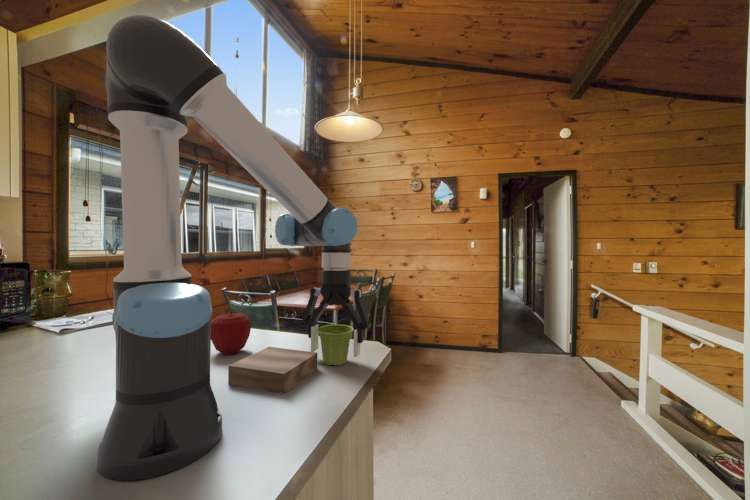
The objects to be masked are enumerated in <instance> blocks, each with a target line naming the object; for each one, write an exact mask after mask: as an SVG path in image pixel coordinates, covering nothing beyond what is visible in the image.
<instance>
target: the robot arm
mask: <svg viewBox="0 0 750 500" xmlns="http://www.w3.org/2000/svg"><path fill="white" fill-rule="evenodd" d="M105 47H106V69H105V73H104V74H105V75H104V85H105V89H106V90H105V91H106V95H107V97H106V98H107V99H106V100H107V119H108V121H109V122H110V124H112V125H113V126H114V127H115V128H117V130H119V140H120V141H119V143H120V144H119V145H120V148H119V149H120V173H121V174H120V175H121V177H120V178H121V179H120V180H121V183H120V184H121V204H122V205H121V207H122V208H121V211H122V241H123V243H122V245H123V246H122V247H123V269H122V271H121V272H120V273H118V274H117V275H116V276H115V277H114V278H113V280H112V288H113V289H112V290H113V313H112V316H111V317H112V327H113V330H114V334H115V349H116V350H115V402H114V403H115V404H114V407H113V410H112V412H111V414H110V417H109V419H108V422H107V425H106V428H105V430H104V434H103V437H102V439H101V441H100V442H99V445H98V449H97V469H98V472H99V473H100V474H101V475H102V476H103V477H105V478H108V479H112V480H116V481H137V480H145V479H150V478H154V477H158V476H162V475H165V474H169V473H171V472H175V471H176V470H179V469H182V468H183V467H185V466H188V465H189V464H191V463H194V462H195V461H196V460H198V459H200V458H201V457H203V456H204V455H206V454H207V453H208V452H209V451H211V449H213V448H214V447H215V446H216V445H217V444H218V442H219V440H220V439H221V437H222V433H223V418H222V417H223V416H222V412H221V411H220V409H219V407H218V403H217V402H218V401H217V399H216V397H215V394H214V391H213V388H212V385H211V354H212V353H211V350H212V349H211V347H212V346H211V343H212V341H211V321H212V315H213V307H212V301H211V300H212V299H211V295H210V292H209V291H208V290H207V289H206V288H205V287H203V286H201V285H197V284H193V283H192V274H191V272H189V271H187V270H186V269H185V268H184V266H183V262H182V261H183V260H182V224H181V223H182V222H181V190H180V189H181V187H180V185H181V183H180V181H181V180H180V150H179V149H180V147H179V140H180V139H181V138H183V137H184V136H185V135H186V134H188V117H191V118H192V119H194V120H195V121H196V122H197V123H198V124H199V125H200V126H201V127H202V128H203V129H204V130H205V131H206V132H207V133H208V134H209V135H210V136H211V137H213V139H214V140H215V141H216V142H217V143H218V144H219V145H220V146H222V148H223V149H225V150H226V152H228V153H229V154H230V155H231V157H232V158H234V159H235V161H236V162H238V163H239V165H241V166H242V168H244V169H245V170H246V171H247V172H248V173H249V174H250V175H251V176H252V177H253V179H255V180H256V182H258V184H260V185H261V186H262V187H263V188H264V189H265V190H266V191H267V192H268V193H269V194H270V195H271V196H272V197H273V198H275V200H276V201H278V203H280V205H281V206H282V207H283V208H284V209H286V210H287V212H288V213H281V214H280V215H279V216H278V217H277V219H276V221H275V226H274V235H275V238H276V241H277V242H278V244H279V245H281V246H289V247H296V246H297V247H321V268H322V270H321V277H320V278H321V279H320V280H321V287H317V286H316V287H312V288H310V290H309V298H308V299H309V300H308V301H307V305H306V307H305V310H304V312H303V315H302V319H301V323H302V324H306V325H307V327H308V332H307V333H308V334H307V336H308V338H309V339H310V352H316V351H317V350H319V332H318V331H317V329H318V328H319V324H317V323H318V321H319V319H320V318H321V316H322V315H323V313H324V312H325V311H326V308H327V307H328V306H333V305H335V306H341V307H342V308H343V309H344V310H345V312H346V314H347V315H348V317H349V319H350V320H351V322H352V324H353V326H354V327H355V328H356V329H354V330H353V357H354V358H357V357H358V356H359V355H360V354H361V344H362V343H363V342H364V340H365V337H364V336H365V335H364V334H365V332H364V331H365V330H367V329H369V328H370V327H371V326H372V323H371V321H370V317H369V314H368V311H367V309H366V305H365V302H364V300H363V291H362V289H352V288H351V271H350V270H349V269H350V268H351V246H352V245H351V242H353V240H354V239H355V236H356V235H357V233H358V221H357V217H356V216H355V214H354V213H353V212H352V211H351V210H350V209H348V208H345V207H341V206H340V207H338V206H337V207H336V206H335V205H334V203H333V202H331V200H330V199H329V198H328V197H327V195H325V194H324V193H323V192H322V190H321V189H320V188H319V187H318V186H317V185H316V184H315V183H314V182H313V180H312V179H311V178H310V177H309V176H308V175H307V174H306V172H305V171H304V170H303V169H302V168H301V167H300V166H299V165H298V163H297V162H296V161H295V160H294V159H293V158H292V157H291V155H289V153H288V152H287V151H286V150H285V149H284V148H283V147H282V146H281V145H280V143H279V142H278V141H277V140H276V139H275V138H274V137H273V136H272V134H271V133H270V132H269V131H268V129H266V127H264V125H263V124H262V123H261V122H260V121H259V120H258V118H256V116H254V115H253V113H252V112H251V111H250V110H249V109H248V107H247V106H245V104H244V103H243V102H242V101H241V100H240V98H238V97H237V95H236V94H235V93H234V92H233V91H232V90H231V89H230V88H229V86H228V84H227V74H225V72H224V71H223V70H222V69H221V68H220V67H219V65H217V63H216V62H215V61H214V60H213V59H212V58H211V57H210V56H209V55H208V53H207V52H205V51H204V49H202V48H201V46H199V45H198V44H197V43H196V42H195V41H194V40H193V39H192V38H191V37H189V36H188V35H187V34H185V33H184V32H183V31H182V30H181V29H179V28H177V27H176V26H174V25H173V24H171V23H169V22H167V21H164V20H163V19H160V18H157V17H154V16H150V15H143V14H142V15H141V14H139V15H136V14H135V15H129V16H126V17H124V18H122V19H120V20H118V21H117V22H116V23H115V24H113V26H112V27H111V29H110V30H109V32H108V34H107V39H106V45H105ZM320 295H321V296H322V297H323V298H322V299H321V301H320V303H319V305H318V307H317V308H316V306H317V305H316V304H317V302H318V299H319V296H320ZM351 296H352V299H354V303H355V306H356V309H357V312H356V310H355V308H354V306H353V305H352V301H351V300H350V299H349V298H350V297H351ZM315 308H316V310H315ZM314 310H315V311H314Z"/></svg>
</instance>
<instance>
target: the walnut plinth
mask: <svg viewBox="0 0 750 500" xmlns="http://www.w3.org/2000/svg"><path fill="white" fill-rule="evenodd" d="M227 367H228V369H227V370H228V373H227V374H228V378H227V380H228V381H227V384H228V385H233V386H237V387H238V386H239V387H244V388H250V389H255V390H261V391H268V392H273V393H279V394H286V393H287V392H288V391H290V390H291V389H292V388H294V387H295V386H296V385H298V384H299V383H300V382H302V381H303V380H304V379H306V378H307V377H309V376H310V375H311V374H312V373H314V372H315V371H317V370H318V352H316V351H314V352H311V351H309V350H307V351H306V350H298V349H290V348H282V347H274V346H273V347H272V346H268V347H266V348H263V349H261V350H259V351H257V352H255V353H253V354H249V355H247V356H246V357H244V358H242V359H240V360H237V361H236V362H233V363H231V364H229V365H228V366H227ZM316 369H317V370H316Z"/></svg>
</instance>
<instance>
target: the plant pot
mask: <svg viewBox="0 0 750 500" xmlns="http://www.w3.org/2000/svg"><path fill="white" fill-rule="evenodd" d="M354 330H355V329H354V327H352V326H350V325H346V324H327V325H322V326H320V327H318V329H317V331H318V337H319V338H320V345H321V354H322V355H321V356H322V363H323V364H324V365H327V366H332V365H335V366H341V365H344V364H346V362H347V360H348V355H349V347H350V341H351V340H350V339H351V337H352V333H354Z"/></svg>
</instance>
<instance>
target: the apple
mask: <svg viewBox="0 0 750 500" xmlns="http://www.w3.org/2000/svg"><path fill="white" fill-rule="evenodd" d="M251 329H252V323H251V320H250V318H249V316H248V315H246V314H245V313H243V312H235V313H233V312H232V311H230V313H226V314H221V315H220V314H219V315H218V316H216V317H214V318H213V319H211V343H212V345H213V346H214V349H215V351H216V352H219V353H222V354H223V355H234V354H238V353H239V352H241V350H243V349H244V348H245V346H246V344H247V342H248V340H249V338H250V334H251Z"/></svg>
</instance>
